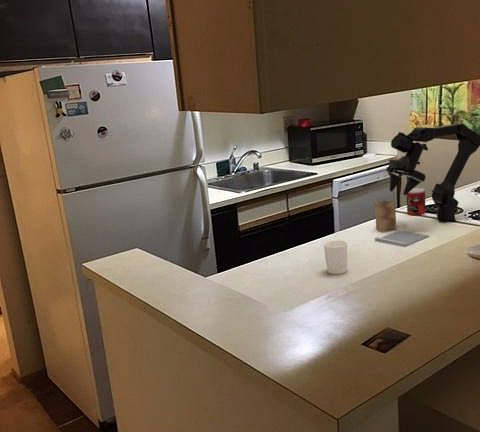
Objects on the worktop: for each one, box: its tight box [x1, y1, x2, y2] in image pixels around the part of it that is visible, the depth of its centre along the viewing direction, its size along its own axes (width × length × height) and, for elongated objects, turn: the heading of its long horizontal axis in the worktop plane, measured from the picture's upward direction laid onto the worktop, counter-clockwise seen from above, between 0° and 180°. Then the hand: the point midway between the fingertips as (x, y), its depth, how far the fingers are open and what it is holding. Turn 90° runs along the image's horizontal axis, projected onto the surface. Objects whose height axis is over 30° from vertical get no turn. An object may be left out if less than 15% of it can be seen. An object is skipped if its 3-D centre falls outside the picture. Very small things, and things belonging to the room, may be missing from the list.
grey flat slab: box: [374, 229, 430, 248], centre depth 218 cm, size 16×14×1 cm
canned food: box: [406, 187, 426, 217], centre depth 249 cm, size 8×8×11 cm
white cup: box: [323, 239, 348, 275], centre depth 191 cm, size 8×8×10 cm
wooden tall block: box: [374, 198, 397, 233], centre depth 230 cm, size 6×6×13 cm
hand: (397, 193), depth 224 cm, fingers open, 9 cm apart
